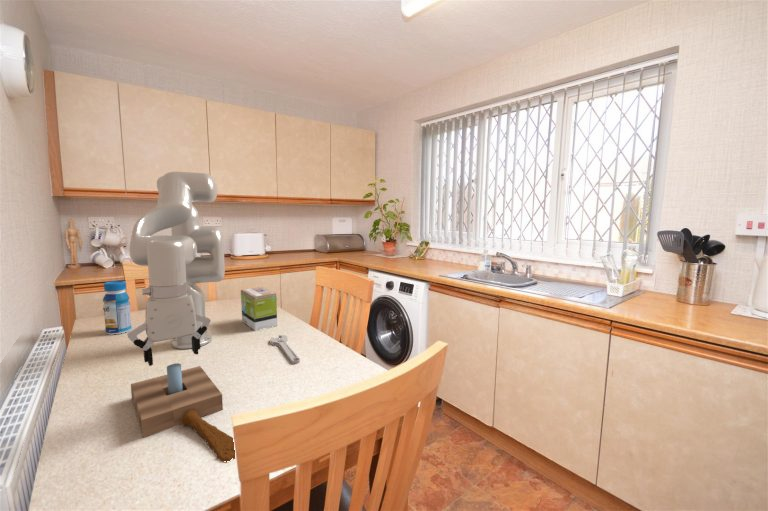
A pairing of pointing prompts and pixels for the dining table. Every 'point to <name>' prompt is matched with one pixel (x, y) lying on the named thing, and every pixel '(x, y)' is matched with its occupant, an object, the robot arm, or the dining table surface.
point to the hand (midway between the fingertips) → (173, 358)
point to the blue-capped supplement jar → (116, 308)
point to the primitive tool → (211, 435)
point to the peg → (174, 378)
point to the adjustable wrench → (285, 348)
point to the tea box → (259, 308)
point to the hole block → (174, 400)
